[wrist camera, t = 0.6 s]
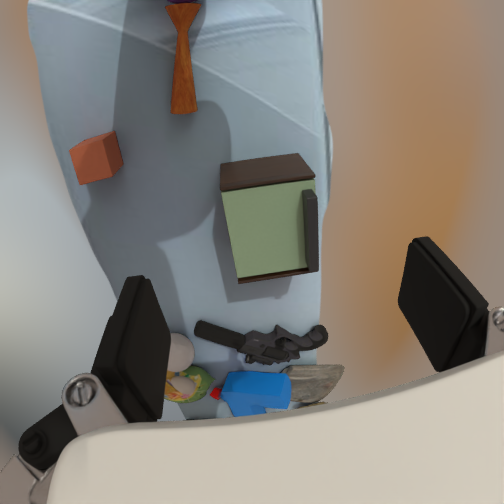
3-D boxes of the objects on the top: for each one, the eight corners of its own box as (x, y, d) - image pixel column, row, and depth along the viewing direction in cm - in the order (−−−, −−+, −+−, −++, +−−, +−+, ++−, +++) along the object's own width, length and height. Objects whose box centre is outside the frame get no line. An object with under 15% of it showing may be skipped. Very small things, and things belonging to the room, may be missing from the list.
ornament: (323, 410, 82) (343, 399, 70) (323, 417, 81) (343, 408, 69) (289, 410, 81) (304, 400, 69) (289, 418, 80) (304, 409, 68)
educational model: (133, 356, 63) (178, 373, 73) (127, 391, 58) (174, 404, 68) (178, 352, 57) (223, 371, 67) (173, 393, 52) (220, 406, 62)
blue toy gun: (243, 441, 77) (250, 423, 82) (312, 449, 68) (317, 429, 73) (194, 388, 64) (205, 366, 69) (280, 395, 55) (287, 370, 60)
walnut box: (220, 163, 41) (220, 187, 34) (298, 153, 41) (315, 174, 34) (235, 247, 49) (238, 284, 41) (303, 237, 49) (317, 271, 41)
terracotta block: (83, 140, 37) (68, 150, 33) (115, 130, 37) (102, 139, 33) (93, 172, 40) (79, 185, 36) (123, 164, 40) (112, 176, 36)
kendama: (152, 117, 33) (150, -40, 21) (169, 106, 38) (169, -31, 26) (201, 116, 33) (203, -48, 20) (212, 106, 37) (215, -36, 25)
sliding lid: (221, 190, 35) (221, 201, 33) (313, 177, 35) (320, 187, 33) (237, 275, 42) (238, 290, 39) (316, 263, 42) (321, 276, 39)
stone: (322, 393, 76) (351, 358, 68) (325, 403, 73) (355, 369, 66) (259, 390, 72) (282, 352, 64) (261, 401, 69) (285, 365, 61)
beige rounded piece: (152, 332, 53) (138, 378, 56) (194, 365, 50) (175, 408, 53) (177, 322, 60) (161, 365, 63) (216, 350, 56) (196, 392, 59)
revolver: (332, 324, 61) (290, 367, 67) (221, 283, 52) (187, 336, 59) (337, 335, 58) (293, 378, 65) (222, 295, 50) (186, 348, 56)
